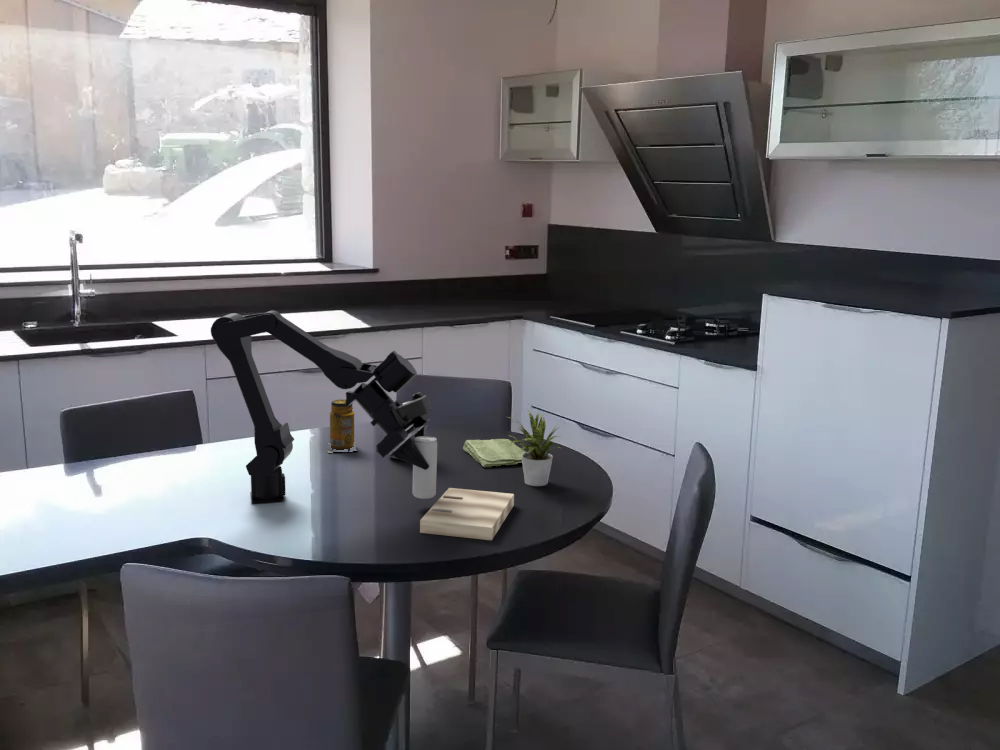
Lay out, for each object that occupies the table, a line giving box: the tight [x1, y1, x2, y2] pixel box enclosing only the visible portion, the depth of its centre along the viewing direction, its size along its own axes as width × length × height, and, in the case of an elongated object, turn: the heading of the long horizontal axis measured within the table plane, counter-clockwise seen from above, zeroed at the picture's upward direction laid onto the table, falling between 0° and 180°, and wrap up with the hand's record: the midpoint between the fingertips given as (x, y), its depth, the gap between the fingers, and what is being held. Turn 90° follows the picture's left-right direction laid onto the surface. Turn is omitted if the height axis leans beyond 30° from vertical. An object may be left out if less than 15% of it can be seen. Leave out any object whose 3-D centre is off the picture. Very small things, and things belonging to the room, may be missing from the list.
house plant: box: [507, 410, 563, 487], centre depth 201 cm, size 14×14×16 cm
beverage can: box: [412, 435, 438, 500], centre depth 182 cm, size 5×5×12 cm
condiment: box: [327, 398, 356, 454], centre depth 224 cm, size 7×8×12 cm
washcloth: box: [462, 438, 527, 469], centre depth 221 cm, size 13×18×3 cm
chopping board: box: [419, 487, 515, 541], centre depth 178 cm, size 20×14×3 cm
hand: (431, 464), depth 182 cm, fingers closed on beverage can, 5 cm apart
